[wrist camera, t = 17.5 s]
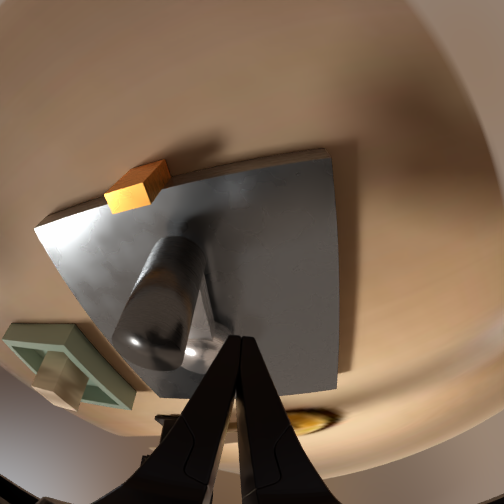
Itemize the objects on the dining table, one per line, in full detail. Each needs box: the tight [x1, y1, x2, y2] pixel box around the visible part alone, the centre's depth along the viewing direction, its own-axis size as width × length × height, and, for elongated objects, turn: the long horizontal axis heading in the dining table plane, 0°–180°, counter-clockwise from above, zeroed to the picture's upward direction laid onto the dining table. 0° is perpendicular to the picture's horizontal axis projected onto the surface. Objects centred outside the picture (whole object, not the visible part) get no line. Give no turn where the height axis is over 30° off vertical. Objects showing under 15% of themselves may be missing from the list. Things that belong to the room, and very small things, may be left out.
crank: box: [112, 236, 232, 374], centre depth 14 cm, size 10×4×6 cm, turn 3°
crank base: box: [34, 148, 339, 399], centre depth 18 cm, size 21×17×3 cm
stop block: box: [31, 351, 89, 411], centre depth 23 cm, size 4×4×5 cm
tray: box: [2, 323, 136, 410], centre depth 25 cm, size 12×12×2 cm
